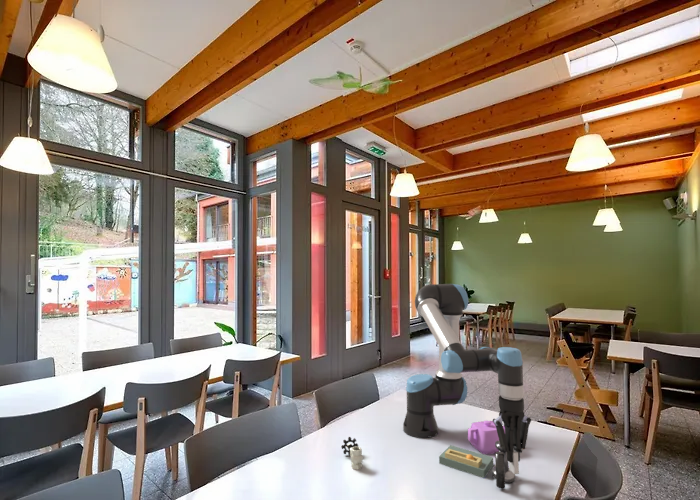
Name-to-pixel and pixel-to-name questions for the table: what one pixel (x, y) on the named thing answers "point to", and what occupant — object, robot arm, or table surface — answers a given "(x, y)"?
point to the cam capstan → (502, 468)
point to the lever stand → (466, 461)
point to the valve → (353, 453)
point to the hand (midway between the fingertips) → (514, 471)
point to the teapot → (484, 436)
